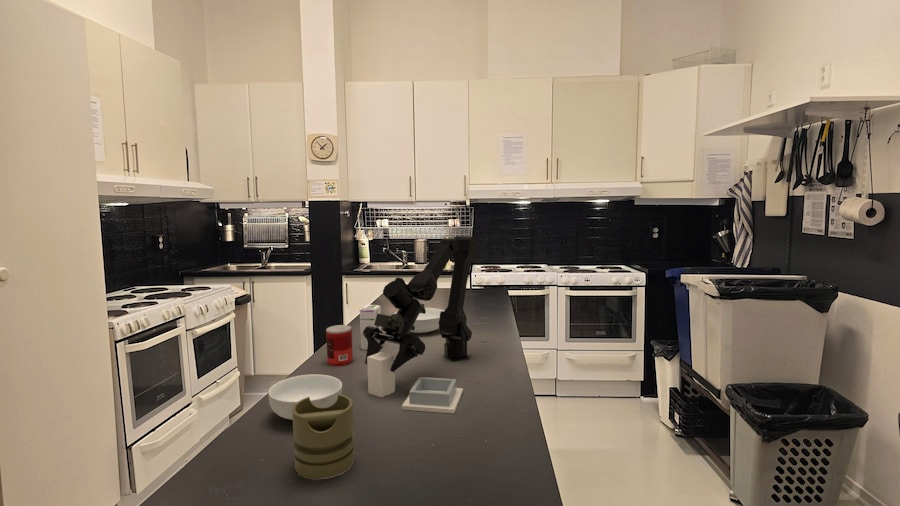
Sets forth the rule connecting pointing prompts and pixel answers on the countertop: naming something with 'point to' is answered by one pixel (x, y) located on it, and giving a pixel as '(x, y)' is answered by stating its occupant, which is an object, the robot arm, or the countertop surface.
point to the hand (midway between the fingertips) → (378, 367)
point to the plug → (380, 374)
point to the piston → (323, 437)
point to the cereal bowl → (303, 392)
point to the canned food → (339, 345)
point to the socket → (433, 395)
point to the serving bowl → (427, 321)
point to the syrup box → (368, 321)
